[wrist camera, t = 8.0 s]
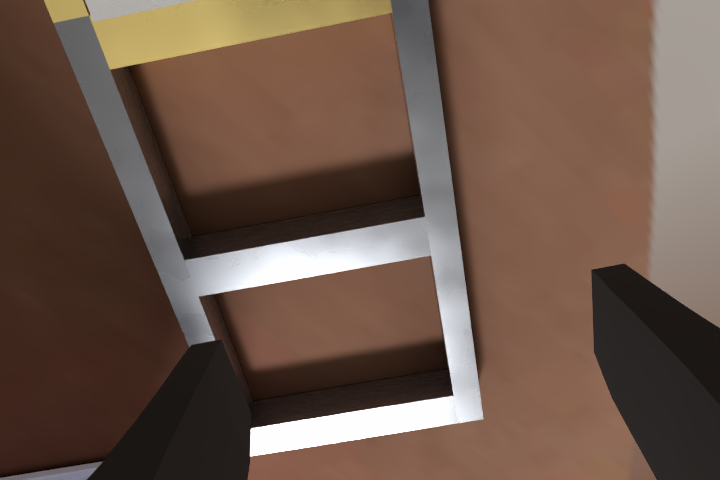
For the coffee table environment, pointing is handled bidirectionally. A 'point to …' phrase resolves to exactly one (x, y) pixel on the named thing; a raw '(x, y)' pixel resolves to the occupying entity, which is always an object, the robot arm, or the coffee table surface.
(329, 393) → the yellow grey ladder frame
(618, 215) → the coffee table surface
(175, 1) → the block
